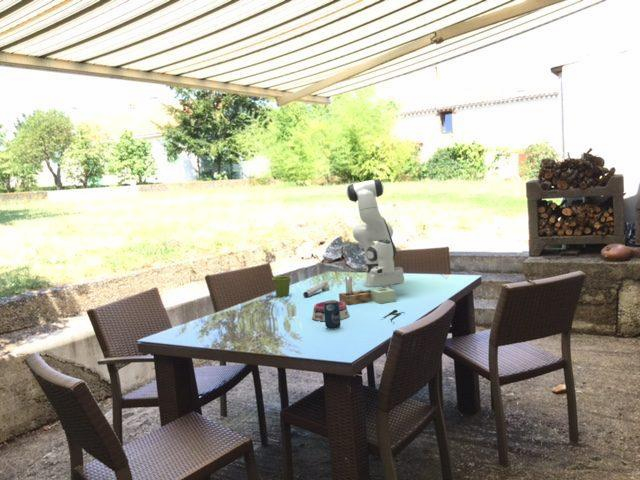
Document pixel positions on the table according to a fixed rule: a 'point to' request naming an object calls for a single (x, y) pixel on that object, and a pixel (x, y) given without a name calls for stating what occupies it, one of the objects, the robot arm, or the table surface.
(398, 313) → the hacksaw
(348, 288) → the peg
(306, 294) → the white elongated piece
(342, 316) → the dog bowl
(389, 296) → the square hole block
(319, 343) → the table surface
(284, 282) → the plant pot
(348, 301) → the socket block
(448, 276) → the table surface
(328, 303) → the soda can
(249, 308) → the table surface
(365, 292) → the block
